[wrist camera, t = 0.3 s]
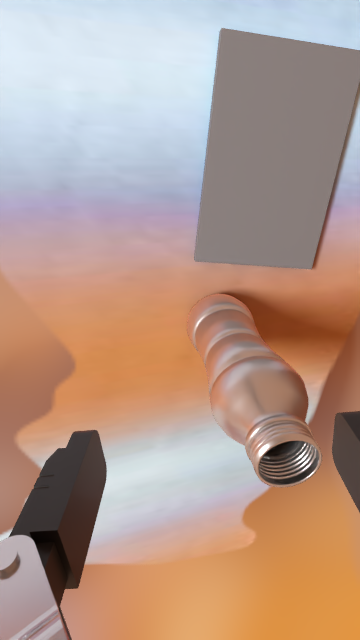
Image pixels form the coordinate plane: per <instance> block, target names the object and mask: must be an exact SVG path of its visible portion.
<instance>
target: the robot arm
mask: <svg viewBox="0 0 360 640" xmlns="http://www.w3.org/2000/svg"><path fill="white" fill-rule="evenodd" d="M332 453H333V459H334V463H335V466H336V468H337V470H338V472H339V474H340V476H341V478H342V480H343V482H344V484H345V486H346V487H347V489H348V491H349V493H350V495H351V497H352V499H353V501H354V503H355V505H356V506H357V508H358V510H359V512H360V411H357V412H343V413H337V414H336V416H335V425H334V435H333V446H332ZM106 472H107V471H106V462H105V458H104V454H103V450H102V446H101V442H100V437H99V434H98V432H97V430H88V431H75V432H73V434H72V435H71V438H70V440H69V442H68V445H67V447H66V448H58V449H57V450H56V451H55V452H54V453H53V454H52V455H51V456H50V458H49V459H48V460H47V461H46V462H45V465H44V467H43V469H42V471H41V473H40V477H39V478H38V479H37V481H36V483H35V485H34V489H33V490H32V491H31V493H30V495H29V497H28V499H27V501H26V503H25V505H24V507H23V509H22V512H21V514H20V516H19V518H18V520H17V522H16V524H15V526H14V528H13V530H12V532H11V534H10V536H9V537H8V538H6V539H4V540H2V541H1V542H0V640H72V638H71V636H70V633H69V630H68V627H67V624H66V621H65V619H64V616H63V613H62V610H61V607H60V603H61V600H62V597H63V593H64V590H65V589H74V588H78V586H79V583H80V579H81V575H82V571H83V568H84V564H85V560H86V556H87V552H88V548H89V544H90V541H91V537H92V533H93V529H94V525H95V521H96V517H97V514H98V510H99V506H100V502H101V498H102V494H103V491H104V487H105V483H106Z"/></svg>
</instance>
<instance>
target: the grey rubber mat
mask: <svg viewBox="0 0 360 640" xmlns="http://www.w3.org/2000/svg"><path fill="white" fill-rule="evenodd" d="M359 82H360V50H354V49H348V48H342V47H335V46H329V45H323V44H317V43H311V42H305V41H299V40H292V39H286V38H280V37H274V36H268V35H262V34H255V33H249V32H243V31H237V30H231V29H225V28H222V29H221V31H220V34H219V43H218V51H217V60H216V69H215V78H214V87H213V96H212V105H211V114H210V122H209V131H208V140H207V149H206V158H205V167H204V176H203V185H202V194H201V202H200V211H199V220H198V229H197V238H196V247H195V256H194V260H195V261H198V262H212V263H227V264H241V265H256V266H270V267H284V268H299V269H312V266H313V262H314V258H315V254H316V250H317V246H318V242H319V238H320V234H321V230H322V227H323V223H324V219H325V215H326V211H327V207H328V203H329V199H330V195H331V191H332V187H333V184H334V180H335V176H336V172H337V168H338V164H339V160H340V156H341V152H342V148H343V145H344V141H345V137H346V133H347V129H348V125H349V121H350V117H351V113H352V109H353V105H354V102H355V98H356V94H357V90H358V86H359Z"/></svg>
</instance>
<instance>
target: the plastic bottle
mask: <svg viewBox="0 0 360 640" xmlns="http://www.w3.org/2000/svg"><path fill="white" fill-rule="evenodd" d="M187 332H188V336H189V338H190V341H191V342H192V344H193V345H194V347H195V348H196V350H197V351H198V352H199V353H200V355H201V357H202V359H203V361H204V363H205V367H206V372H207V376H208V382H209V394H210V403H211V409H212V414H213V416H214V419H215V421H216V422H217V424H218V425H219V426H220V427H221V428H222V430H223V431H224V432H225V433H226V434H227V435H228V436H229V437H230V438H232V439H233V440H235V441H237V442H239V443H240V444H242V445H245V449H246V452H247V455H248V457H249V459H250V460H251V462H252V464H253V467H254V470H255V472H256V474H257V476H258V477H259V479H260V480H261V481H262V482H264V483H265V484H267V485H269V486H273V487H290V486H294V485H297V484H300V483H302V482H304V481H306V480H307V479H309V478H310V477H311V476H313V475H314V474H315V473H316V471H317V470H318V469H319V467H320V465H321V462H322V454H321V451H320V447H319V446H318V445H317V443H316V441H315V440H314V438H313V434H312V431H311V430H310V428H309V426H308V425H307V423H306V422H305V419H306V415H307V410H308V395H307V391H306V388H305V384H304V382H303V380H302V378H301V377H300V375H299V374H298V373H297V372H296V371H295V370H294V369H293V368H292V367H291V366H290V365H289V364H288V363H286V362H285V361H284V360H283V359H282V358H281V357H280V356H278V355H277V354H276V353H275V352H274V351H273V350H272V349H271V348H270V347H269V346H268V345H267V344H266V343H265V341H264V340H263V339H262V338H261V336H260V334H259V332H258V330H257V328H256V326H255V322H254V319H253V317H252V314H251V312H250V310H249V309H248V307H247V306H246V305H245V304H244V303H242V302H241V301H239V300H238V299H236V298H235V297H233V296H230V295H227V294H213V295H209V296H206V297H204V298H202V299H201V300H199V301H198V302H197V303H196V304H195V305H194V306H193V307H192V309H191V311H190V313H189V316H188V322H187Z"/></svg>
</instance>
